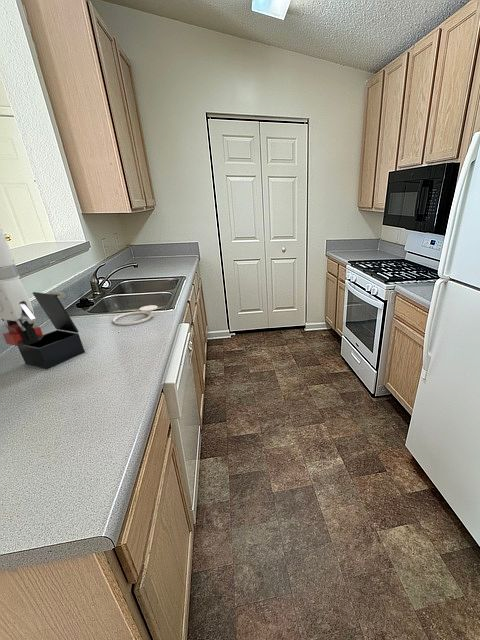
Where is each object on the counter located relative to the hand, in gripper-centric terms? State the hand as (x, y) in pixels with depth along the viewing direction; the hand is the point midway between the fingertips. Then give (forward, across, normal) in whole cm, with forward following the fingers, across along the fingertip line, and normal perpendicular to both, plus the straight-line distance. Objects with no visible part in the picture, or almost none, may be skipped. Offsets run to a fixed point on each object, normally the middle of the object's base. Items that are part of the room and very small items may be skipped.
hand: (25, 341), depth 90 cm
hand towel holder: (+18, -29, +62) cm, 70 cm away
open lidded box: (+18, -24, +19) cm, 35 cm away
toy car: (0, 0, 0) cm, 0 cm away
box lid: (+2, -24, +24) cm, 34 cm away
